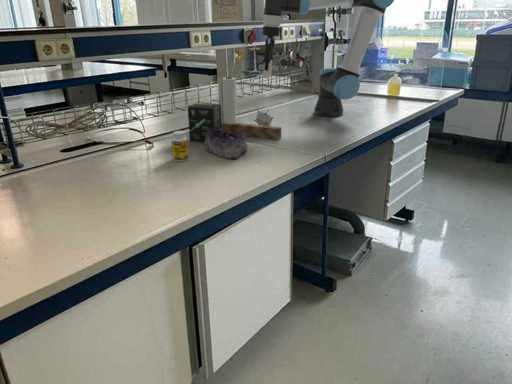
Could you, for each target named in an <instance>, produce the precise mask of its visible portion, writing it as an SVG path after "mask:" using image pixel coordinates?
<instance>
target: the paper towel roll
mask: <svg viewBox="0 0 512 384" xmlns="http://www.w3.org/2000/svg"><path fill="white" fill-rule="evenodd" d="M217 81H218V82H217V85H218V86H217V88H218V104H221V122H222V123H223V122H233V123H237V89H236V87H237V84H236V83H237V81H236V77H229V76H226V77H218V78H217Z"/></svg>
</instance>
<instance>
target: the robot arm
mask: <svg viewBox="0 0 512 384" xmlns="http://www.w3.org/2000/svg"><path fill="white" fill-rule="evenodd" d="M394 2H395V0H264V11H263V16H262V17H261V18H262V20H263V21H262V25H263V26H262V33H261V35H262V36H267V37H266V39H265V41H264V42H265V43H264V44H265V45H264V56H263V59H262V63H263V70H262V78H263V79H270V76H272V72H273V71H272V70H273V69H272V68H273V61H275V57H274V49H275V43H276V41H275V37H280V34H281V33H280V31H281V28H280V26H281V24H282V14H294V15H295V14H298V15H307V14H308V13H309V11H311V10H313V11H314V10H321V9H329V8H330V9H331V8H336V7H337V8H338V7H344V6H346V7H347V8H352V7H353V8H359V11H360V14H359V17H358V18H357V22H356V23H355V27H354V29H353V33H352V35H351V37H350V41H349V43H348V45H347V49H346V51H345V53H344V55H343V59H342V61H341V63H340V64H339V65H337V66H336V67H333V68H321V69H320V71H319V77H318V78H319V80H318V81H319V82H318V98H317V101H316V103H315V106H314V109H313V114H314V115H317V116H322V117H340V116H343V115H344V107H343V102H342V100H345V101H346V100H351V99H352V98H354V97H355V96H357V94H358V92H359V91H360V87H361V84H360V81H359V79H360V76H361V73H360V68H361V65H362V62H363V59H364V56H365V54H366V52H367V51H368V50H367V49H368V47H369V45H370V41H371V39H372V36H373V34H374V32H375V28H376V26H377V24H378V21H379V19H380V18H381V17H383V16H384V14H385V13H386V9H387V8H389V7H390V6H392V4H393V3H394Z"/></svg>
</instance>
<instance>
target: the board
mask: <svg viewBox="0 0 512 384" xmlns="http://www.w3.org/2000/svg"><path fill="white" fill-rule="evenodd" d="M222 131H223V132H230V133H233V134H234V133H235V134H237V135H244V136H245V137H246V138H250V137H252V138H251V139H259V138H260V139H259V140H261V139H262V140H268V139H269V140H270V141H278V142H279V141H280V140H282V127H281V126H273V125H270V126H264V125H258V124H252V123H243V122H241V123H240V122H236V123H233V122H223V123H222ZM269 140H268V141H269Z"/></svg>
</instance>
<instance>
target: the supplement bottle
mask: <svg viewBox="0 0 512 384" xmlns="http://www.w3.org/2000/svg"><path fill="white" fill-rule="evenodd" d="M188 145H189V144H188V138H187V136H186V133H185V131H183V130H176V131H173V133H172V138H171V150H172V159H173V161H175V162H180V163H182V162H186V161H188V159H189V148H188V147H189V146H188Z"/></svg>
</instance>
